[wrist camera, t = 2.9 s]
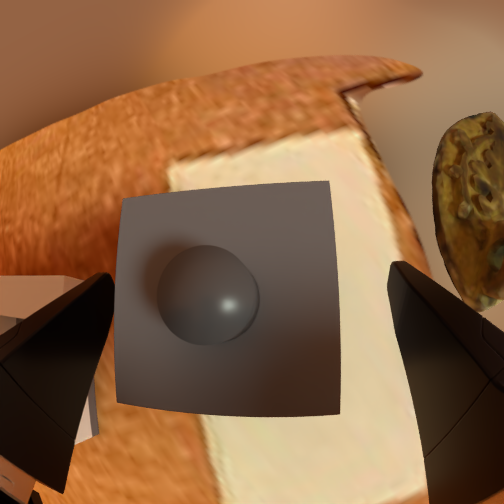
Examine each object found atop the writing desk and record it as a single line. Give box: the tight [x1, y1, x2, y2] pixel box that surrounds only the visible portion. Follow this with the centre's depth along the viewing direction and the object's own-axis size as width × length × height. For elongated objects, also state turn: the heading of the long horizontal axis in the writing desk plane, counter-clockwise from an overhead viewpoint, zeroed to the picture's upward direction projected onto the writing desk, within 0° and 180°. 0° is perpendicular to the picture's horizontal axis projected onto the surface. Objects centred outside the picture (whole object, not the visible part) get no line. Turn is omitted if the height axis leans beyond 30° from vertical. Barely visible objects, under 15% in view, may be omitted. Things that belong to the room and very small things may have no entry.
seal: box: [432, 112, 504, 312], centre depth 14 cm, size 9×5×15 cm
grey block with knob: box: [114, 181, 341, 417], centre depth 11 cm, size 7×7×11 cm
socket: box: [0, 275, 99, 444], centre depth 16 cm, size 10×10×3 cm
